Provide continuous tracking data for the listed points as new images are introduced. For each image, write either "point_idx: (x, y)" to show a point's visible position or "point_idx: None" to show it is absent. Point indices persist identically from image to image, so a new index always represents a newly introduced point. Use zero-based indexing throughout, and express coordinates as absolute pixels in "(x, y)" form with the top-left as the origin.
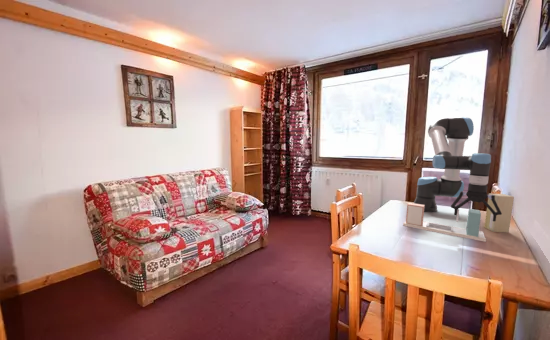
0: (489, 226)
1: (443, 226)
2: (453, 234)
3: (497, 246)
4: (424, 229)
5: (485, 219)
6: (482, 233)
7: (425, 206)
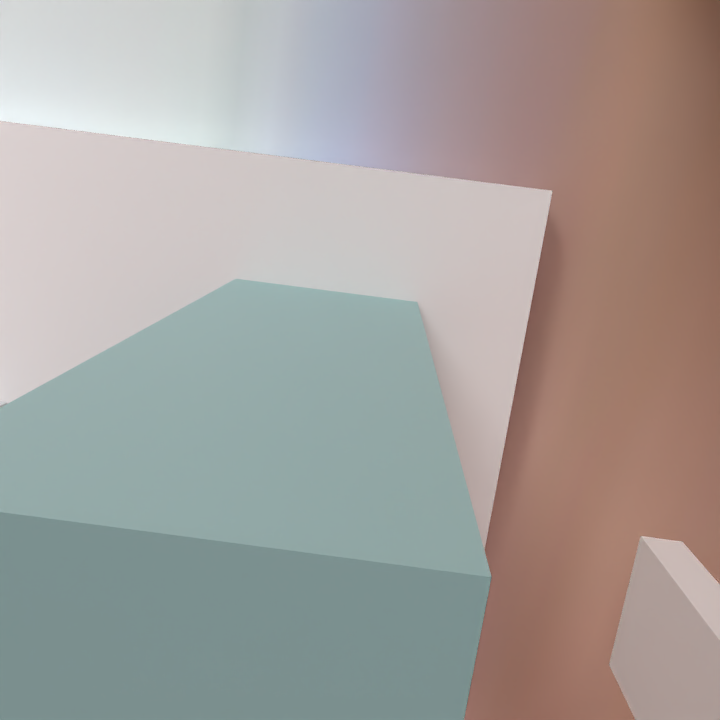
0: (631, 590)
1: None
2: None
3: (587, 698)
4: None
5: None
6: (507, 322)
7: None
